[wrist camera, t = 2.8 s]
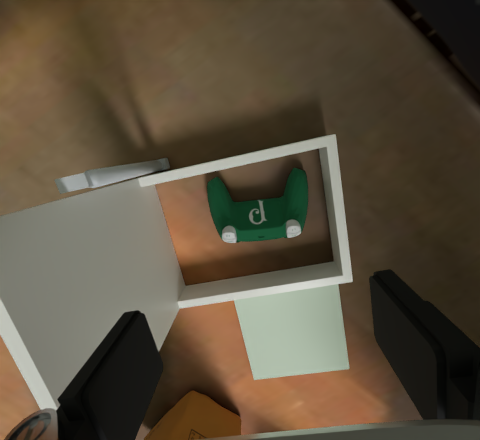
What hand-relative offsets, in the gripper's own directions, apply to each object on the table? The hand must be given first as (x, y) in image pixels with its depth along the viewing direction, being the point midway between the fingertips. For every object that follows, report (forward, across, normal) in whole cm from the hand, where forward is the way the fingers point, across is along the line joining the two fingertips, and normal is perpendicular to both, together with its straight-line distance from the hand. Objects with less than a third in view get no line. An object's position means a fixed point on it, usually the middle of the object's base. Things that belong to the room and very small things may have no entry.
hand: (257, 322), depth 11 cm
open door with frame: (+16, +1, 0) cm, 16 cm away
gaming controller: (+16, 0, -1) cm, 17 cm away
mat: (+16, -1, +14) cm, 21 cm away
